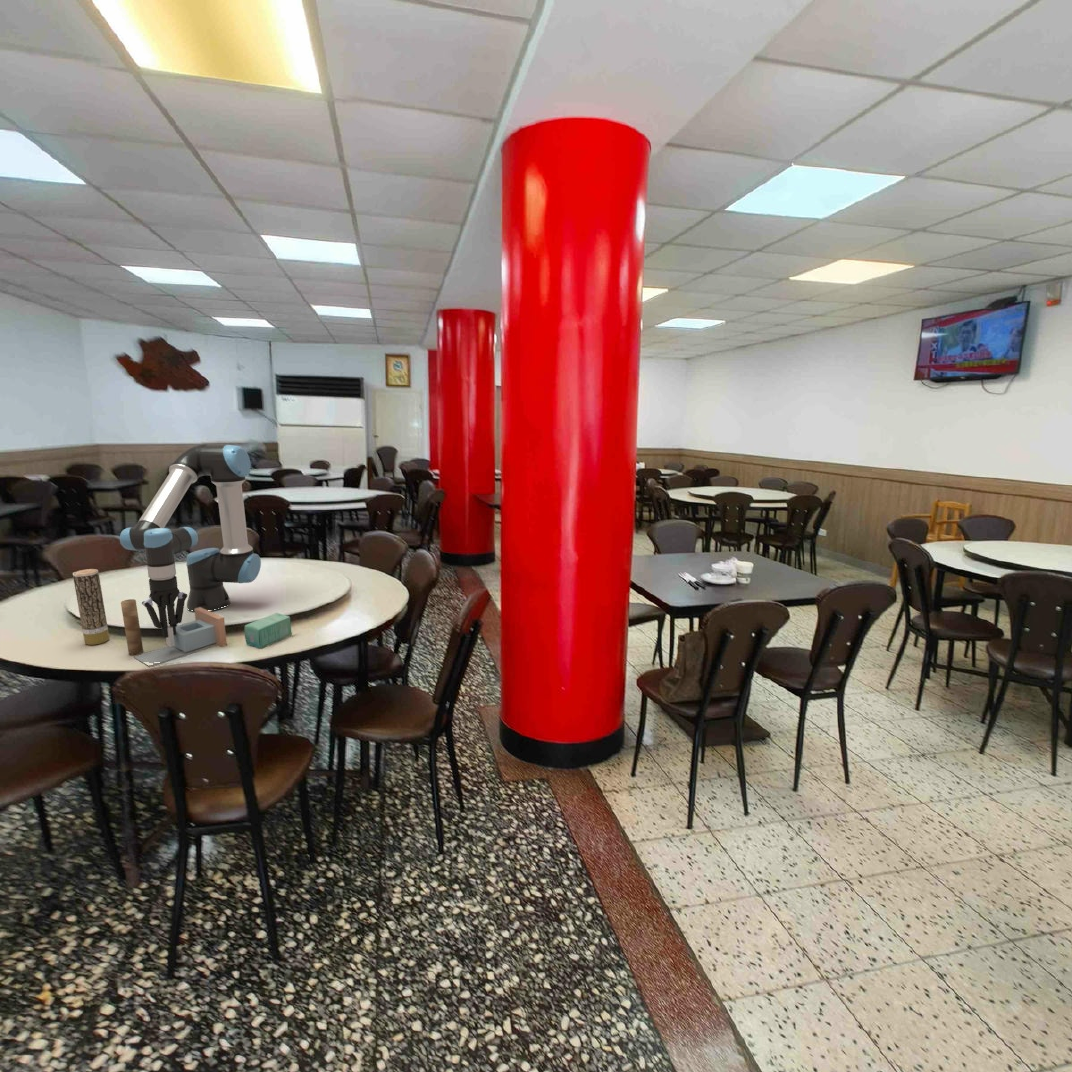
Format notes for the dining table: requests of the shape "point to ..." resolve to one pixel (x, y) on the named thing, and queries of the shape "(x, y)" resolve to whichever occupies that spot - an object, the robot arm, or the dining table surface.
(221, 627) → the wall
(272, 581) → the dining table surface
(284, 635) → the box
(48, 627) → the dining table surface
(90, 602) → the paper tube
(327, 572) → the dining table surface
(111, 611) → the dining table surface
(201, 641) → the socket block
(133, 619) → the dowel
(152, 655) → the mat
